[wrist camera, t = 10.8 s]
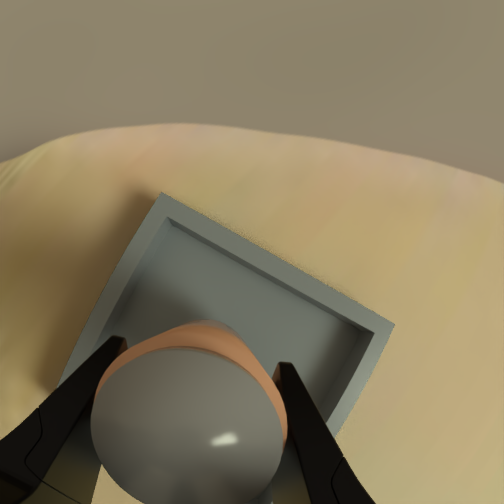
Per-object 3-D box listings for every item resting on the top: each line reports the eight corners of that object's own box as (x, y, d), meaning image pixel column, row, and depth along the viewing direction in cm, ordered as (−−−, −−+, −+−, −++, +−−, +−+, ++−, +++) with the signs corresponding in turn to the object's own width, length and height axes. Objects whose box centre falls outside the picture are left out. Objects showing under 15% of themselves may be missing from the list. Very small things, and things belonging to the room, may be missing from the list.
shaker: (261, 390, 15) (316, 494, 5) (177, 413, 15) (130, 531, 5) (235, 307, 16) (258, 309, 6) (149, 332, 15) (52, 363, 5)
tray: (262, 508, 16) (267, 528, 14) (62, 405, 16) (45, 416, 14) (375, 322, 19) (395, 324, 17) (168, 205, 19) (161, 192, 17)
